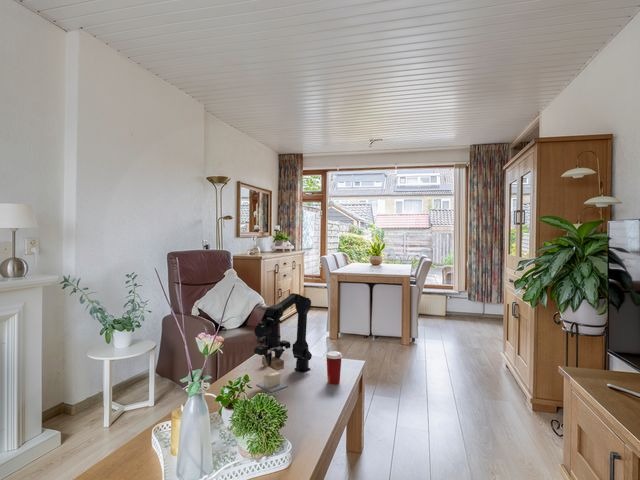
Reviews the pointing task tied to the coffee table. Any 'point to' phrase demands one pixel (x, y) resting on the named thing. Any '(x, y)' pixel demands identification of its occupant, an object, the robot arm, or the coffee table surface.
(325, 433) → the coffee table surface
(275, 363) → the walnut rod
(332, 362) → the coffee cup
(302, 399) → the coffee table surface
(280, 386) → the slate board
